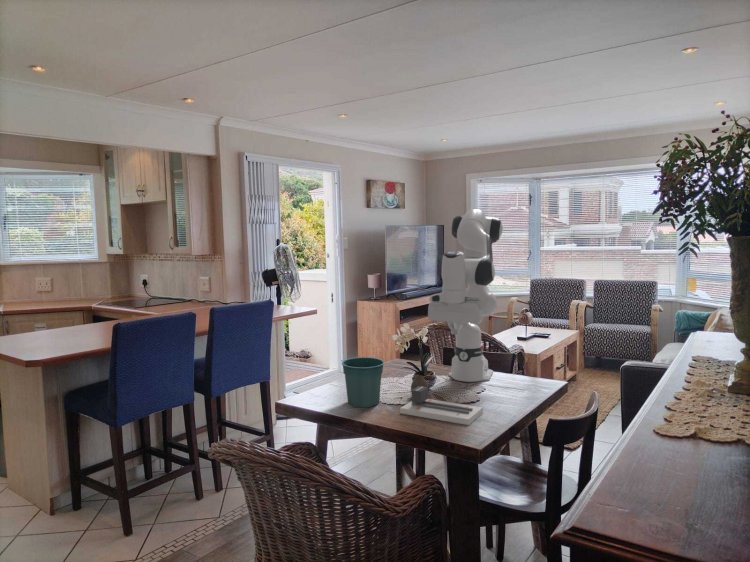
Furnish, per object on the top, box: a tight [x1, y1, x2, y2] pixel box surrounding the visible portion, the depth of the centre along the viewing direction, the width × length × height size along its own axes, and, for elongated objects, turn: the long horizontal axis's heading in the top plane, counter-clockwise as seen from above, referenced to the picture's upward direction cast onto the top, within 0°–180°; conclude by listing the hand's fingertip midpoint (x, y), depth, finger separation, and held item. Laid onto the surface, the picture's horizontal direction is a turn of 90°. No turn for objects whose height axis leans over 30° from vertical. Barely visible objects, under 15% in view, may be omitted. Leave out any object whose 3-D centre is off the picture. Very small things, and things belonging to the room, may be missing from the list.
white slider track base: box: [399, 398, 484, 426], centre depth 193 cm, size 14×26×3 cm, turn 59°
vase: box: [410, 374, 429, 394], centre depth 212 cm, size 7×7×9 cm
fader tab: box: [411, 386, 429, 403], centre depth 197 cm, size 6×4×6 cm, turn 149°
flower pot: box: [341, 356, 385, 409], centre depth 206 cm, size 16×16×16 cm
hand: (455, 334), depth 196 cm, fingers closed
